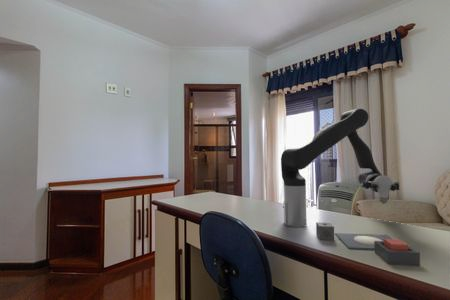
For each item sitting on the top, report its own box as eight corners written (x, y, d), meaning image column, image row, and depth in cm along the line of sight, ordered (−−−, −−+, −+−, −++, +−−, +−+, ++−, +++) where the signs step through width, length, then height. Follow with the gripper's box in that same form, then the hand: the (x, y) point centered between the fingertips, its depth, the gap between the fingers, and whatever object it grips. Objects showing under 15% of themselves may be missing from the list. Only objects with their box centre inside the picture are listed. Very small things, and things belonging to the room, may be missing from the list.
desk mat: (348, 248, 78) (348, 246, 78) (335, 234, 91) (335, 232, 91) (409, 251, 75) (409, 249, 75) (386, 236, 89) (386, 234, 89)
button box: (388, 264, 67) (387, 251, 67) (374, 252, 75) (374, 241, 75) (420, 265, 65) (419, 252, 65) (402, 253, 73) (402, 242, 73)
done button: (391, 252, 68) (391, 244, 68) (383, 246, 73) (383, 238, 73) (408, 253, 68) (408, 244, 68) (399, 247, 72) (399, 239, 72)
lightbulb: (393, 206, 89) (393, 176, 89) (374, 204, 92) (373, 175, 92) (392, 202, 94) (392, 174, 94) (374, 201, 97) (373, 174, 97)
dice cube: (330, 236, 90) (330, 222, 90) (334, 240, 85) (334, 226, 85) (316, 235, 91) (316, 222, 91) (319, 240, 86) (319, 226, 86)
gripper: (357, 173, 109) (362, 177, 94) (395, 174, 103) (407, 178, 88) (358, 190, 109) (363, 196, 93) (395, 191, 103) (408, 198, 88)
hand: (384, 187), depth 91 cm, fingers closed on lightbulb, 5 cm apart
